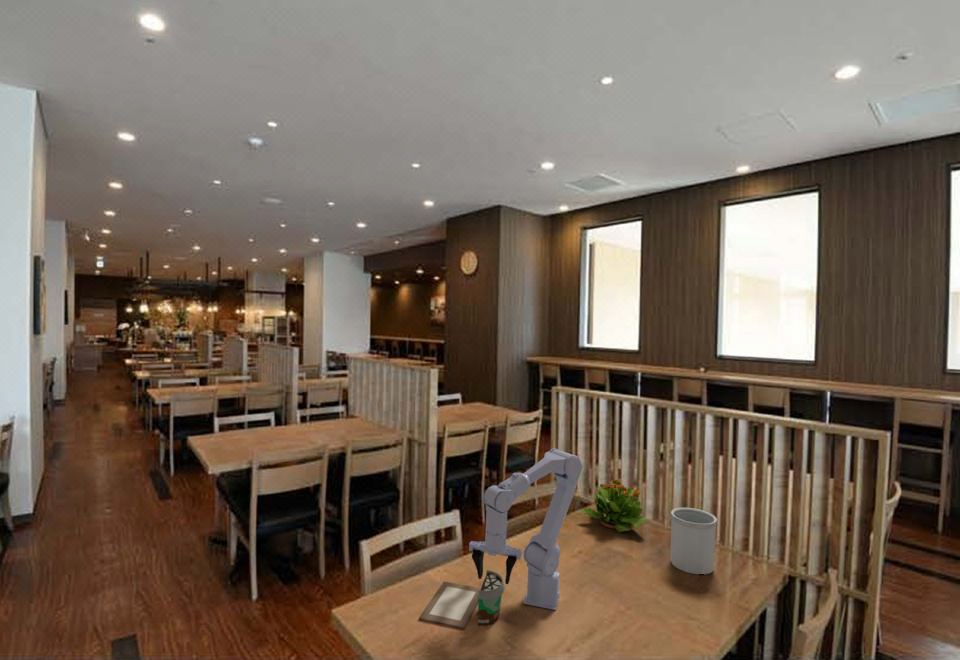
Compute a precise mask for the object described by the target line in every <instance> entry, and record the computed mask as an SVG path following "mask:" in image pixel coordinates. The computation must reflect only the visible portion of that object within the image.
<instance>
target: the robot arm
mask: <svg viewBox="0 0 960 660" xmlns="http://www.w3.org/2000/svg"><path fill="white" fill-rule="evenodd" d="M583 468H584V466H583V463H582V461H581V459H580V457H579V456H578V455H576V454H572V453H569V452H566V451H564V450H560V449H559V448H554V447H553V448H551V449H550V450H549V451H547V452H544V456H543V458H542V459H540V460H539V461H538V462H537V463H535V464H534V465H532V466H531V467H530V468H529V469H527V470H526V471H525V472H523V473H522V472H520V471H519V472H514V473H512V475H511V476H510V477H508V478H507V479H505V480H504V481H500V483H499V484H498V485H491V486H489V487H488V488H487V489H485V491H484V495H482V502H483V503H484V505H485V511H486V515H485V517H486V519H485V538H484V539H485V540H484V541H472V540H471V541H470V542H469V544H468V551H469V552H472V553H471V559H472V561H473V563H474V565H475V569H476V572H477V578H478V580H481V579H482V577H483V575H484V555H485V553H486V554H488V556H492V557H493V556H494V557H495V556H502V557H504V556H505V557H507V558H506V560H505V570H506V571H505V572H506V573H505V583H504V585H505V584H506V585H509V583H510V578H511V574H512V571H513V569H514V566H515V564H516V563H517V560H521V559H522V556H523V559H524V561H525V562H526V567H527V568H528V569H527V586H526V594H525V596H524V599H523V604H524V605H528V606H531V607H532V606H533V607H539V608H544V609H549V610H554V611H556V610H557V609H558V608H557V607H558V603H559V600H560V594H561V593H560V580H561V579H560V578H561V574H560V572H557V569H558V568H559V564H560V556H561V551H562V550H561V548H560V546H559V544H558V541H557V540H558V538H559V535H560V532H561V530H562V527H563V524H564V521H565V519H566V516H567V514H568V511H569V508H570V505H571V502H572V500H573V497H574V494H575V492H576V488H577V485H578V481H579V479H580V476H581V473H582V470H583ZM550 473H551V474H553V475H554V477H555V479H556V481H557V485H556V487H555V491H554V494H553V496H552V499H551V502H550V504H549V506H548V509H547V512H546V515H545V516H544V520H543V522H542V525H541V529H540V530H539V533H537V534H535V535H532V536H531V538H530V540H529V542H528V543H527V544H526V545H525V548H524V549H523V551H522V549H520V548H516V547H513V546H510V545H507V526H508V511H509V510H510V509H511V507H512V505H513V503H514V502H515V501H516V500H517V499H518V498H520V497H521V496H523V495H524V494H526V493H527V492H529V490H530V487H531V484H533V483H535V482H536V481H539V480H540V479H541V478H544V477H546V476H547V475H549V474H550ZM522 554H523V555H522Z"/></svg>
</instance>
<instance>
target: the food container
mask: <svg viewBox="0 0 960 660" xmlns="http://www.w3.org/2000/svg"><path fill="white" fill-rule="evenodd" d="M485 574H486V575H485V577H484V580H483V582H482V585H481V587H480V588H481V590H479V593H478V604H477V606H478V608H477V612H478V613H477V626H480V627H481V626H482V627H483V626H491V625H494V624H495V623H497V622H498V621H499V620H500V612H501V604H502V603H501V602H502V595H503V594H504V593H505V590H506V588H505V583H504V579H503V577H502V576H501V575H500V574H498V573H497V572H495V571H492V570H489V569H486V573H485Z"/></svg>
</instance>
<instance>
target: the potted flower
mask: <svg viewBox="0 0 960 660" xmlns="http://www.w3.org/2000/svg"><path fill="white" fill-rule="evenodd" d="M597 488H598V489H597V491H595V496H594V497H593V500H594V501H593V502H594V504H595V506H596V508H595V507H594V509H593V508H591V507H589V508H585V507H584V508H583V509H581V510H580V512H581V513H583V514H585V515H588V516H591V517H592V518H595V519H598V520H600V523H601V525H603V526H605V527H607V528H610V529H614V530H615V529H616V531H617V532H619V533H622V532H626V531H631V530H632V527H631V526H633V527H634V528H635V529H638V528H639V527H641V526H642V525H644V524H646V523H647V520H646V519H645V518H644V516H645V515H642V513H643V511H644V510H643V508H641V506H642V503H641V501H638V500H639V495H640V494H641V492H642V491H641V490H638V489H633V488H631V487H629V488H627V487H626V486H625V485H624V484H622V481H621V480H619V479H617V478H613V480H612V483H606V484H603V483H601V484H600V485H599V486H597ZM629 524H630V525H629Z"/></svg>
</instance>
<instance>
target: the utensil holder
mask: <svg viewBox="0 0 960 660" xmlns="http://www.w3.org/2000/svg"><path fill="white" fill-rule="evenodd" d="M670 517H671V522H670V525H671V526H670V528H671V529H670V530H671V531H670V532H671V533H670V562H671V564H672V566H674V568H677V569H678V570H680V571H682V572H685V573H688V574H693V575H699V574H704V575H709V574H711V573H713V571H714V566H715V555H716V554H715V553H716V539H717V538H716V537H717V535H716V534H717V525H718V519H717V517H716V516H715V515H714V514H712V513H710V512H708V511H705V510H702V509H698V508H693V507H676V508H673V509H672V510H671V512H670Z"/></svg>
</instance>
